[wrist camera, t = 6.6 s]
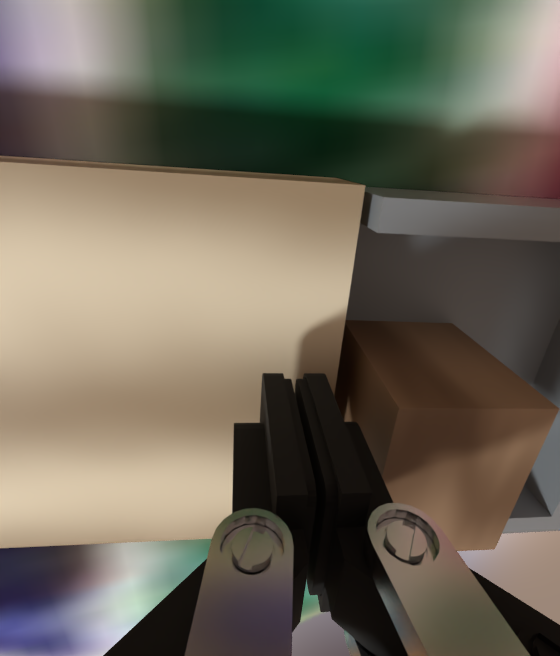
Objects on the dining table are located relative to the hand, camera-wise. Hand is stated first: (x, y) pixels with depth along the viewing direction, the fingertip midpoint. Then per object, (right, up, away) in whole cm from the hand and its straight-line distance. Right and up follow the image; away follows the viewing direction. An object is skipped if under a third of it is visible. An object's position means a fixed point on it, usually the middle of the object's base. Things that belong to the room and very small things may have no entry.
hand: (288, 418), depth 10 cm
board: (-5, +2, +3) cm, 6 cm away
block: (+2, -1, +1) cm, 3 cm away
